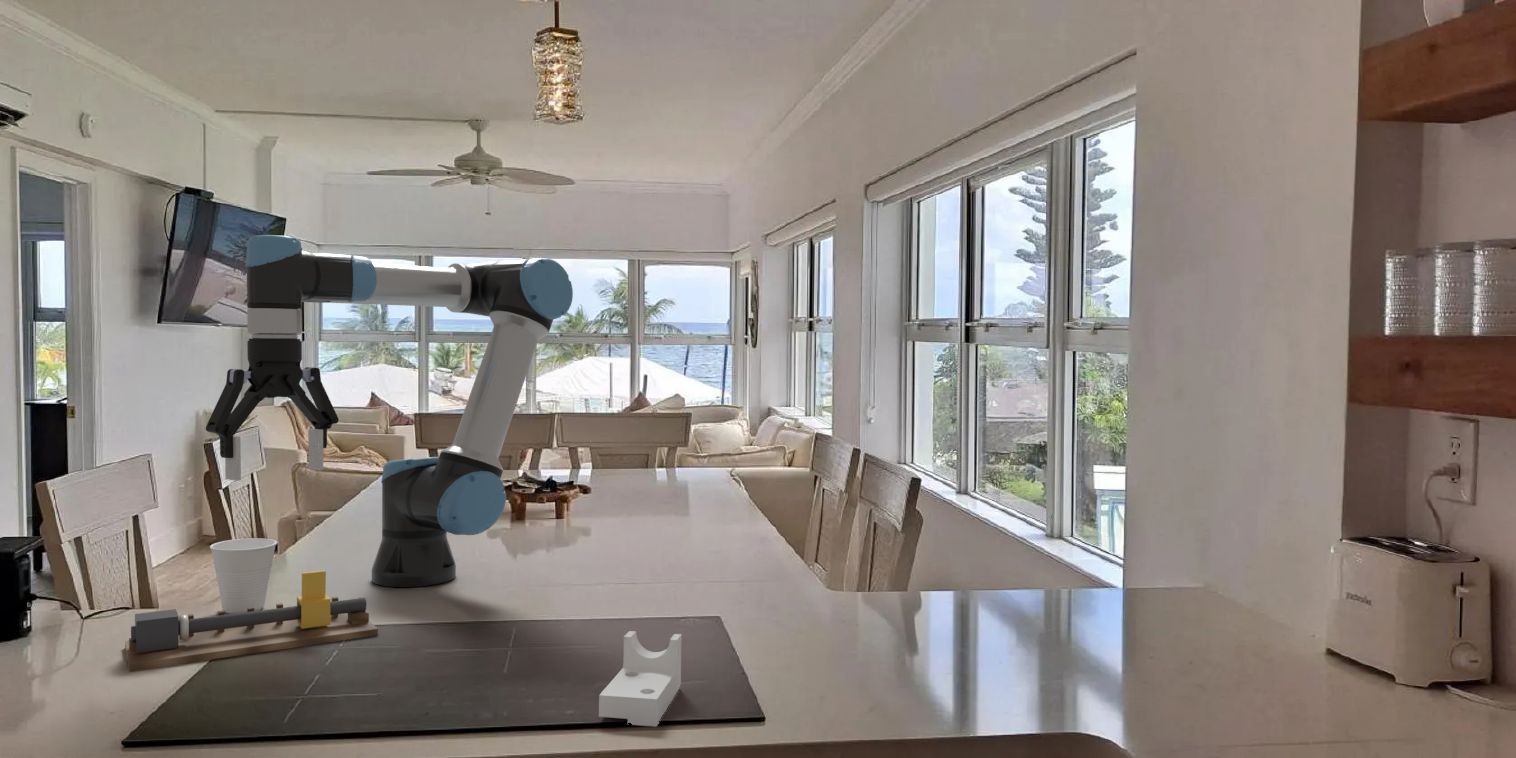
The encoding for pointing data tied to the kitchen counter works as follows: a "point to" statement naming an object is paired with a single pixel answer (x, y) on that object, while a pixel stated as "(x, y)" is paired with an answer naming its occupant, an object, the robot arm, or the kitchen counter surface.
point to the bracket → (643, 683)
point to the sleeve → (314, 600)
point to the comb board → (251, 640)
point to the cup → (243, 572)
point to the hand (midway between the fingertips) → (276, 474)
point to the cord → (262, 617)
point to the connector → (160, 630)
